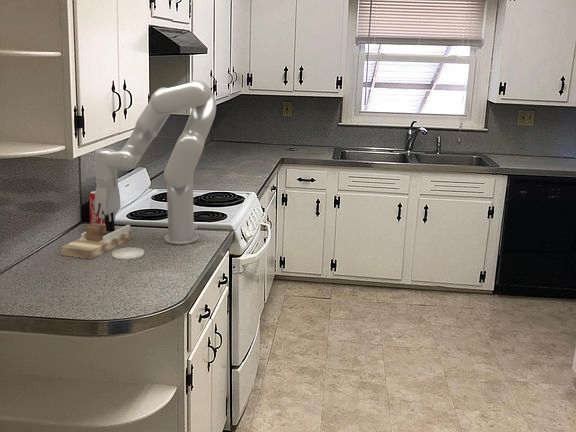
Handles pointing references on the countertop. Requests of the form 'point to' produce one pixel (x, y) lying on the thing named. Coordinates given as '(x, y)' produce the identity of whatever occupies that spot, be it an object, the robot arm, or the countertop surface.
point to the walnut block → (95, 232)
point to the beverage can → (93, 216)
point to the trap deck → (97, 243)
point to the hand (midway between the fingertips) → (110, 230)
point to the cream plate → (128, 253)
